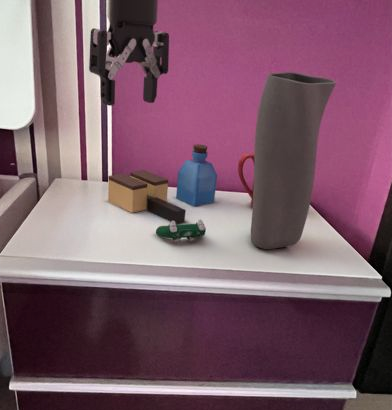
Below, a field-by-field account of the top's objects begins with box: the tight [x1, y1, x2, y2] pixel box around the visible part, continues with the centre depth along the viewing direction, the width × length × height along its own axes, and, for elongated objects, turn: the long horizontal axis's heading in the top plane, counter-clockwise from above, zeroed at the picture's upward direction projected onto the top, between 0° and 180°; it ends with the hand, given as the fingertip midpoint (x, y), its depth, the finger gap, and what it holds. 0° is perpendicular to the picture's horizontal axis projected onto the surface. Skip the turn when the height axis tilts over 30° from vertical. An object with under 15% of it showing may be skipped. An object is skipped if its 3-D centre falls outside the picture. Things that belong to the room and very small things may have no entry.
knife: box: [146, 194, 187, 225], centre depth 120 cm, size 18×2×3 cm, turn 46°
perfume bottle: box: [175, 143, 218, 207], centre depth 125 cm, size 6×6×12 cm
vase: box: [250, 71, 337, 250], centre depth 103 cm, size 12×12×30 cm
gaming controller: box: [155, 219, 207, 243], centre depth 107 cm, size 9×4×6 cm
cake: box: [107, 169, 169, 214], centre depth 121 cm, size 10×8×6 cm
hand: (129, 103), depth 92 cm, fingers open, 8 cm apart
